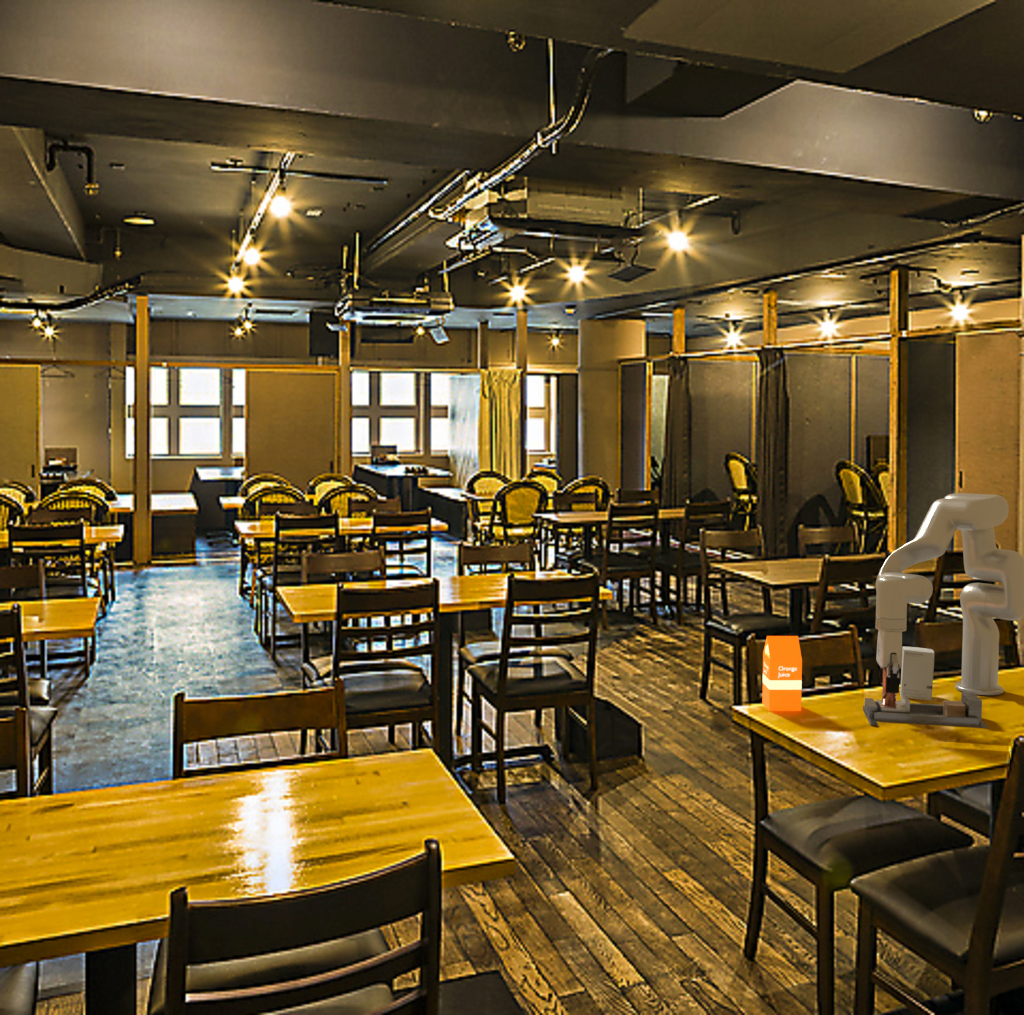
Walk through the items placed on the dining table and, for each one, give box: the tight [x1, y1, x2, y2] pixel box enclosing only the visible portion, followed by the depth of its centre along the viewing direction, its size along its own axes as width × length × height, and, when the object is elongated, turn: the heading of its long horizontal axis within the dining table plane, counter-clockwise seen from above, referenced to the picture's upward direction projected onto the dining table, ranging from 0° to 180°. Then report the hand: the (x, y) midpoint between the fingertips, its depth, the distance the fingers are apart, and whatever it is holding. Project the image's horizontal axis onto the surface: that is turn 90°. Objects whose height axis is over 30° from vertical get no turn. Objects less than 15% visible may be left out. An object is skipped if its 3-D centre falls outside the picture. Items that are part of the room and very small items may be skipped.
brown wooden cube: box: [942, 699, 966, 717], centre depth 240 cm, size 4×4×4 cm
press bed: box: [862, 691, 989, 729], centre depth 242 cm, size 14×28×7 cm, turn 77°
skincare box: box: [899, 645, 935, 701], centre depth 261 cm, size 8×6×15 cm
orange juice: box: [761, 635, 803, 712], centre depth 255 cm, size 8×9×20 cm
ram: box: [876, 667, 911, 714], centre depth 243 cm, size 8×7×12 cm
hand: (889, 687), depth 243 cm, fingers open, 9 cm apart
